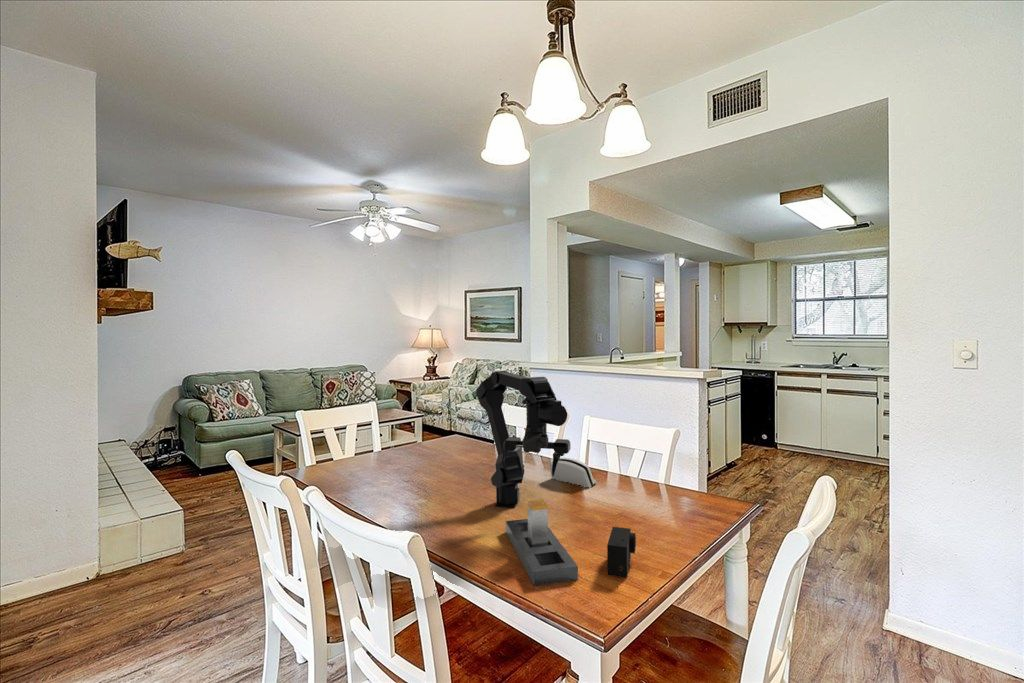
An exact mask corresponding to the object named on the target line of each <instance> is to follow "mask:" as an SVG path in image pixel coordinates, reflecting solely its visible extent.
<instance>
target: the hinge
mask: <svg viewBox="0 0 1024 683" xmlns="http://www.w3.org/2000/svg"><path fill="white" fill-rule="evenodd" d="M552 465H553V460H552V461H551V462H550V463H549V469H550V475H551V476H550V478H551V479H552V480H554V479H556V480H555V481H558V480H560V482H562V481H564V482H563V483H566V482H569V483H568V484H570V483H572V484H571V485H574V484H577V485H576V486H578V485H581V486H580V487H582V486H585V487H584V488H586V487H591V488H592V485H593V486H595V485H594V484H597V481H596V479H594V476H593V474H592V472H591V469H590V466H589V465H588V464H586V463H584V462H583V461H581V460H578V459H574V458H570V457H564V456H562V457H560V459H559V461H558V464H557V467H556V471H555V474H554V476H552Z"/></svg>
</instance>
